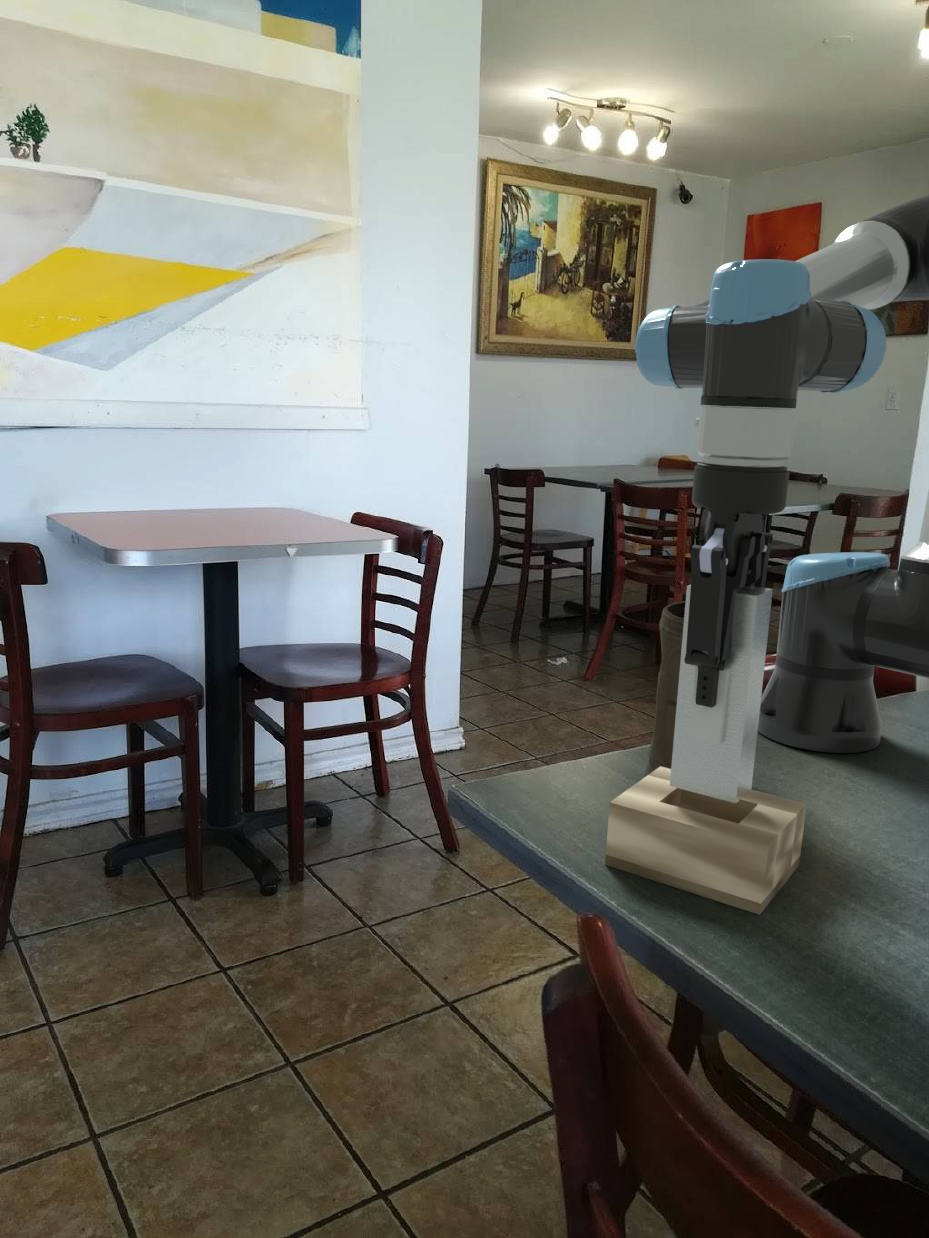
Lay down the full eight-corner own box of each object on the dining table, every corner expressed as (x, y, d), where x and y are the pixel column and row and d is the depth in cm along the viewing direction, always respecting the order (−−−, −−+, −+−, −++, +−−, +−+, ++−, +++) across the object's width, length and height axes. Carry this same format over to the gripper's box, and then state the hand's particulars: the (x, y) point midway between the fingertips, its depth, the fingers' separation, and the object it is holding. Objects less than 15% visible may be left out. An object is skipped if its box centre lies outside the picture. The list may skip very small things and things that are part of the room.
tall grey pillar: (687, 772, 90) (704, 579, 86) (751, 788, 87) (772, 588, 83) (669, 785, 87) (686, 585, 83) (735, 803, 83) (757, 595, 79)
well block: (655, 823, 97) (660, 766, 95) (799, 865, 89) (806, 803, 88) (605, 864, 88) (609, 802, 86) (759, 914, 80) (767, 847, 79)
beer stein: (750, 817, 99) (770, 624, 94) (642, 805, 101) (657, 615, 96) (739, 763, 114) (757, 594, 109) (645, 753, 116) (659, 587, 111)
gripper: (733, 455, 89) (710, 701, 95) (656, 462, 75) (634, 749, 81) (817, 460, 85) (788, 717, 90) (752, 469, 71) (722, 771, 77)
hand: (715, 732), depth 86 cm, fingers closed on tall grey pillar, 4 cm apart
